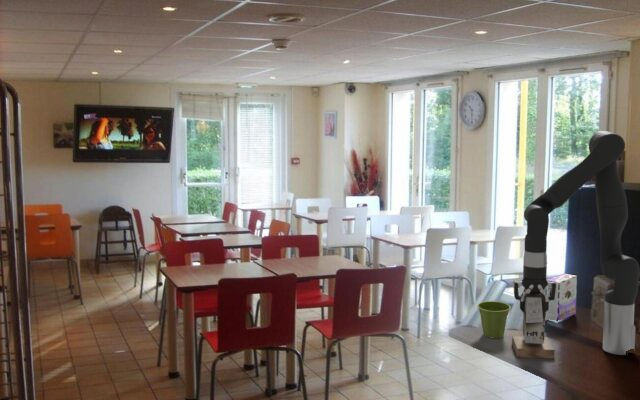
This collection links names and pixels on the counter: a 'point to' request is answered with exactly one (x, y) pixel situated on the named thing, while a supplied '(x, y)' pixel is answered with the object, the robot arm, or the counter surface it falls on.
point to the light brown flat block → (532, 348)
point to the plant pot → (493, 317)
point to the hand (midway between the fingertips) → (533, 311)
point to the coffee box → (534, 318)
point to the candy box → (562, 297)
